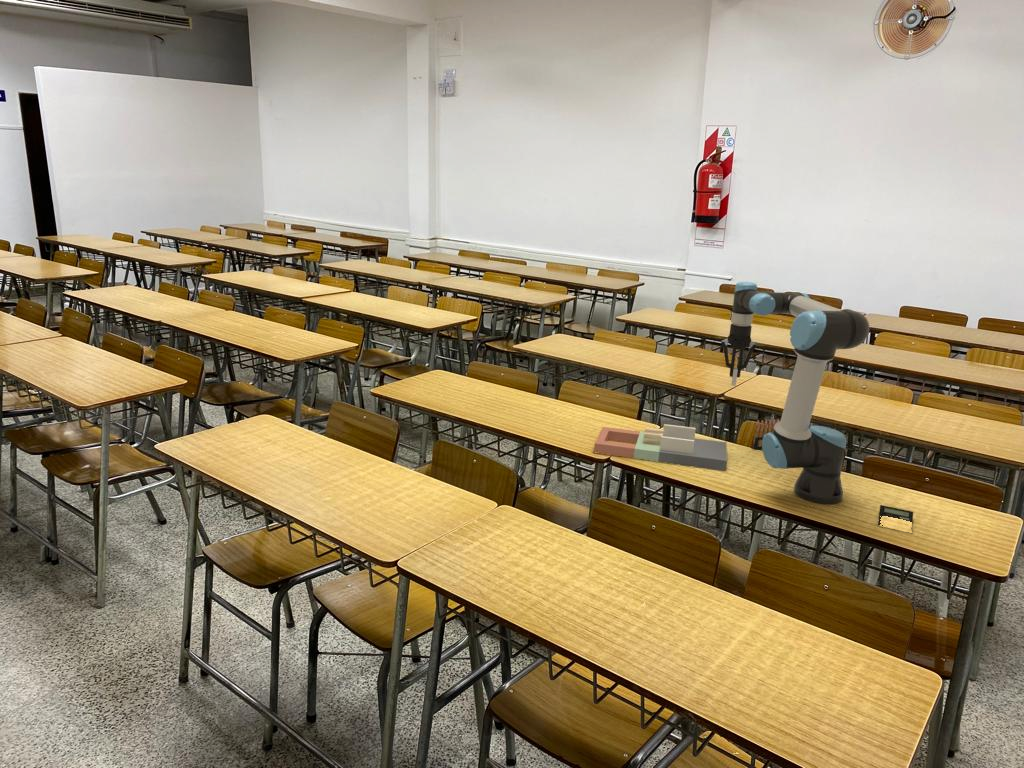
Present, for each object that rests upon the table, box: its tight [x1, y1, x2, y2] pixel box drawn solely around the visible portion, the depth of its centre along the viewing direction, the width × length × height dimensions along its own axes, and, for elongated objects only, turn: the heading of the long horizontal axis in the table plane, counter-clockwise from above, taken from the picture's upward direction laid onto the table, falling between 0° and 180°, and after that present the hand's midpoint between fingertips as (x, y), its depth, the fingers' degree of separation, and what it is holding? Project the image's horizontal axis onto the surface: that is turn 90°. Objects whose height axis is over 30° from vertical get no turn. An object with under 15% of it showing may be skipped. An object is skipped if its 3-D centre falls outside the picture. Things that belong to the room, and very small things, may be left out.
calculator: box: [877, 504, 914, 526], centre depth 223 cm, size 9×12×3 cm
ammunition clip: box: [751, 418, 780, 451], centre depth 281 cm, size 11×2×12 cm, turn 103°
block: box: [643, 427, 664, 446], centre depth 273 cm, size 7×7×4 cm
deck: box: [593, 424, 728, 472], centre depth 272 cm, size 20×48×9 cm, turn 74°
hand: (733, 385), depth 271 cm, fingers closed
